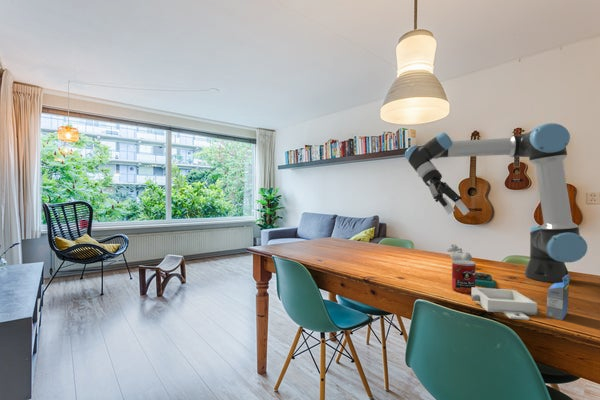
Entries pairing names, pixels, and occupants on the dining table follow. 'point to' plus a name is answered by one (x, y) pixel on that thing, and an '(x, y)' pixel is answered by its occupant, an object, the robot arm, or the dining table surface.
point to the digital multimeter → (484, 280)
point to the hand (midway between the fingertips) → (459, 212)
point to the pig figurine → (458, 253)
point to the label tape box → (558, 299)
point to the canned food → (463, 276)
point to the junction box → (505, 302)
